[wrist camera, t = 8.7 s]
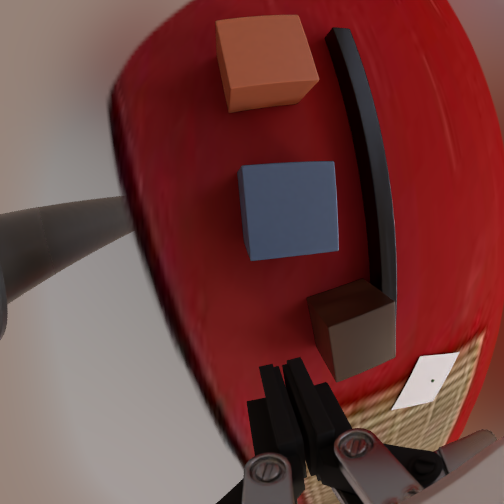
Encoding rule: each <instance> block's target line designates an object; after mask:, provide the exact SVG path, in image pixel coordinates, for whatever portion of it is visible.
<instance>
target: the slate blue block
mask: <svg viewBox="0 0 504 504" xmlns="http://www.w3.org/2000/svg"><path fill="white" fill-rule="evenodd" d="M237 174H238V185H239V196H240V206H241V216H242V227H243V237H244V244H245V246H246V249H247V252H248V255H249V258H250V260H251V261H256V260H265V259H274V258H282V257H291V256H299V255H308V254H316V253H325V252H333V251H338V250H339V243H338V213H337V195H336V180H335V167H334V161H312V162H287V163H270V164H256V165H244V166H242V167H241V168H240V169H239V171H238V172H237Z"/></svg>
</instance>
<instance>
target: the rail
mask: <svg viewBox="0 0 504 504" xmlns="http://www.w3.org/2000/svg"><path fill="white" fill-rule="evenodd" d="M325 41H326V44H327V46H328V49H329V52H330V55H331V58H332V62H333V65H334V68H335V71H336V75H337V78H338V81H339V85H340V88H341V92H342V96H343V100H344V103H345V107H346V111H347V116H348V120H349V124H350V129H351V133H352V138H353V143H354V148H355V153H356V158H357V164H358V169H359V175H360V181H361V188H362V195H363V202H364V210H365V218H366V227H367V237H368V249H369V263H370V281H371V285H373V286H374V287H376V288H377V289H378V290H380V291H381V292H383V293H384V294H385V295H387V296H388V297H389V298H391V299H392V300H394V301H395V320H396V310H397V259H396V239H395V225H394V214H393V204H392V195H391V188H390V180H389V174H388V167H387V161H386V156H385V150H384V145H383V140H382V135H381V130H380V126H379V121H378V117H377V113H376V109H375V105H374V101H373V98H372V94H371V90H370V87H369V83H368V80H367V77H366V74H365V70H364V67H363V64H362V61H361V58H360V55H359V53H358V50H357V47H356V44H355V42H354V39H353V36H352V34H351V31H350V29H346V28H334V27H333V28H332V29H331V30H330V32H329V33H328V34H327V36H326V37H325Z"/></svg>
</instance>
